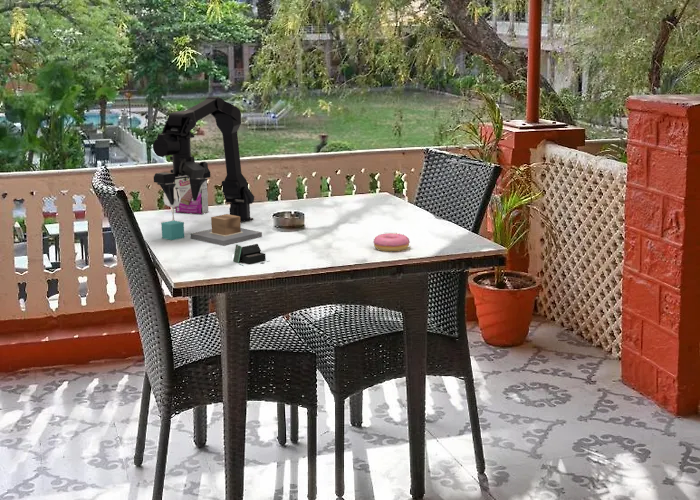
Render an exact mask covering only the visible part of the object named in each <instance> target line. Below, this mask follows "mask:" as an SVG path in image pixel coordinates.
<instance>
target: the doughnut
mask: <svg viewBox="0 0 700 500" xmlns="http://www.w3.org/2000/svg"><path fill="white" fill-rule="evenodd" d="M410 243H411V241H410V238H409V237H408V236H407V235H404V234H401V233H397V232H392V233H380V234H378V235H376V236H375V237H374V238H373V245H374V248H376V249H377V250H378V251H380V252H388V251H389V252H391V251H395V252H403V251H405V250H407V249H408V248H409V246H410ZM389 252H388V253H389Z"/></svg>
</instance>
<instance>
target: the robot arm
mask: <svg viewBox="0 0 700 500" xmlns="http://www.w3.org/2000/svg"><path fill="white" fill-rule="evenodd" d="M209 115H210V116H212V117H213V118H214V119H215V122H216V123H215V124H216V127H217V128H218V130H219V131H220V132H221V135H222V142H223V152H224V160H225V169H226V176H225V178H224V180H222V181H221V188H222V191H221V193H223V196H224V200H225V203H227V204H228V203H229V215H235V216H240V223H244V222H248V221H253V220H254V217H251V207H250V206H251V205H252V204H253V203H254V202H255V195H254V194H253V193H252V192H251V190H250V188H249V185H248V180H247V179H246V177H245V176H244V175H243V172H242V166H241V158H240V157H241V156H240V144H239V137H238V131H239V128H240V126H241V125H242V113H241V109H240V108H239V107H238V106H236V105H234V104H231V103H230V102H228V101H225V100H224V99H223V98H222V97H219V96H208V97H206V98H205V100H203V101H201V102H198V103H197V104H195V105H194V106H192V107H189V108H187V109H185V110H179V111H178V110H177V111H174V112H173V111H172V112H171V113H169V115H168V118H167V120H166V122H165V124H164V126H163V130H162V131H161V133H158V134H157V137H156V139H155V140H154V142H153V145H152V149H153V152H154V154H155V155H156V156H158V157H159V158H160V157H168V156H169V160H170V161H172V169H170V171H169V172H166V171H164V172H163V171H162V172H156V173H155V174H154V175H153V183H156V185H158V186H159V187H160V188H161V190H162V191H163V193H164V192H165V194H166V196H167V198H168V200H169V202H170V204H171V205H173V204H174V187H175V185H176V184H175V183H174V181H175V179H182V178H189V180H190V186H191V192H192V197H193V200H194V201H196V200H197V197H198V194H199V191H200V188H201V185H202V184H203V183H204V182H205V181H206V180H207V181H208V178H211V170H210V169H209V164H208V162H206V161H201V162H195V156H192V150H191V149H192V148H191V147H192V146H191V139H192V138H195V134H194V133H192V132H191V131H192V130H193V129H194V128H195V127H196V126H197V123H198V122H199V121H201V120H203V119H204V118H205V117H207V116H209ZM206 178H207V179H206Z"/></svg>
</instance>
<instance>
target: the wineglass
mask: <svg viewBox="0 0 700 500" xmlns="http://www.w3.org/2000/svg"><path fill="white" fill-rule="evenodd" d="M163 202H164V204H165V206H167V207H170V208H171V213H172V214H171V216H172V220H171V221H173V220H175V207H176V206H178V205H179V204H180V202H181V195H180V191H179V188H174V204H173V205H171V204H170V202H169V200H168V198H167V196H166V194H165V192H164V191H163Z"/></svg>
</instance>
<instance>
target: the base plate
mask: <svg viewBox="0 0 700 500" xmlns="http://www.w3.org/2000/svg"><path fill="white" fill-rule="evenodd" d="M189 234H190V239H193V240H197V241H202V242H205V243H206V242H207V243H211V244H215V245H220V246H224V247H225V246H228V245H233V244H235V243H240V242H245V241H251V240H254V239H257V238H262V237H263V232H262V231H259V230H254V229H249V228H245V227H241V232H238V233H234V234H229V235H221V234H216V233H212V228H211V229H207V230H201V231H197V232H193V233H189Z"/></svg>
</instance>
